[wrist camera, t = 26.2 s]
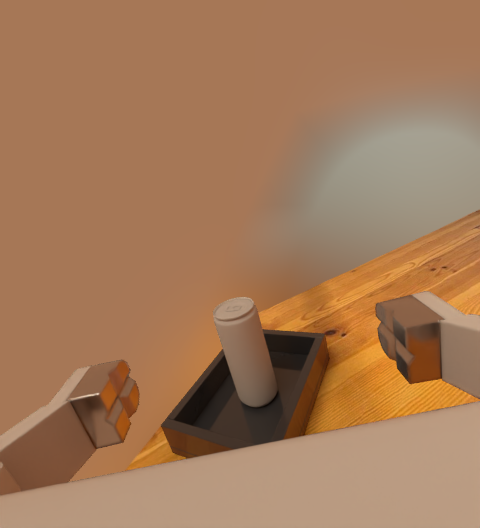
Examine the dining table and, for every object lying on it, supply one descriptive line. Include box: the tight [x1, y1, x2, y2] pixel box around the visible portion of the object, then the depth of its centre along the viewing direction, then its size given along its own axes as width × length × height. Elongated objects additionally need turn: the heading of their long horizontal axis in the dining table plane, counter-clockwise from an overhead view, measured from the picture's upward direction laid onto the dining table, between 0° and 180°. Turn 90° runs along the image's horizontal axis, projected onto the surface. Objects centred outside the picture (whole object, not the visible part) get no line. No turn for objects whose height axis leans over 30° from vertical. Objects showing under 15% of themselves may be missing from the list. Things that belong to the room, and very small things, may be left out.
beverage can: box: [213, 297, 278, 408], centre depth 34 cm, size 5×5×12 cm
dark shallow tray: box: [161, 329, 330, 458], centre depth 35 cm, size 18×13×4 cm
